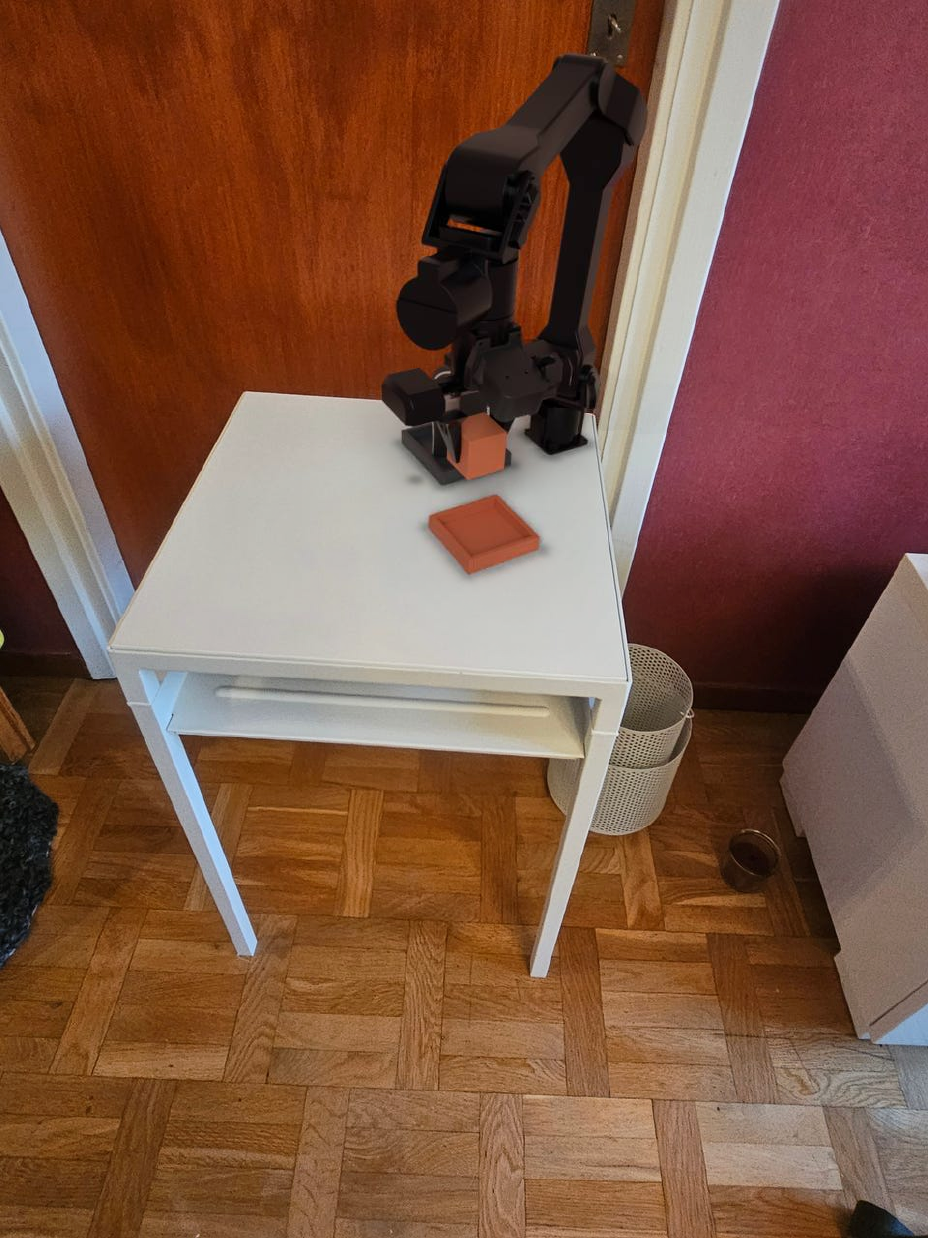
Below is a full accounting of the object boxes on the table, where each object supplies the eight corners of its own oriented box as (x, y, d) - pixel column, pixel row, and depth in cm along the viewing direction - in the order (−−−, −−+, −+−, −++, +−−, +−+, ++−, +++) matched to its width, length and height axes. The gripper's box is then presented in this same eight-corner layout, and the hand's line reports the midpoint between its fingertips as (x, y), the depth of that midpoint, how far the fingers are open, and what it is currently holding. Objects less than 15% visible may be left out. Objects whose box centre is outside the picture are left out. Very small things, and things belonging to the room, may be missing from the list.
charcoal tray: (467, 424, 103) (468, 412, 102) (510, 465, 97) (511, 452, 95) (401, 442, 100) (401, 429, 98) (441, 485, 93) (442, 472, 92)
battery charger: (481, 440, 100) (485, 359, 92) (485, 456, 97) (490, 374, 89) (429, 442, 99) (429, 360, 91) (432, 458, 96) (432, 375, 88)
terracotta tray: (495, 506, 90) (496, 493, 89) (538, 549, 85) (540, 536, 83) (428, 528, 87) (428, 515, 85) (468, 574, 81) (469, 561, 80)
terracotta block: (482, 448, 82) (484, 411, 78) (504, 469, 79) (507, 431, 76) (446, 458, 80) (447, 421, 77) (467, 480, 77) (469, 442, 74)
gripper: (434, 365, 59) (433, 522, 70) (619, 323, 66) (591, 472, 77) (375, 312, 66) (382, 463, 77) (549, 279, 73) (532, 422, 84)
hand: (475, 455), depth 79 cm, fingers closed on terracotta block, 4 cm apart
